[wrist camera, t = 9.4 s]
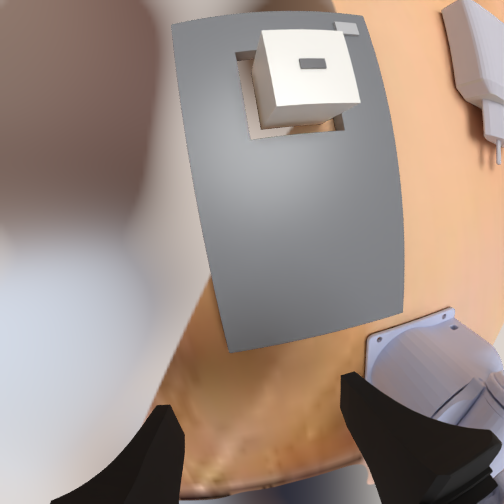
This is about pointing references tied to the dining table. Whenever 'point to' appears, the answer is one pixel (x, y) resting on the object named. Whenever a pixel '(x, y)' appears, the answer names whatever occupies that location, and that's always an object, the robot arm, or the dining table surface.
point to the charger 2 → (478, 63)
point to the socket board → (291, 190)
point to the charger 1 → (302, 77)
